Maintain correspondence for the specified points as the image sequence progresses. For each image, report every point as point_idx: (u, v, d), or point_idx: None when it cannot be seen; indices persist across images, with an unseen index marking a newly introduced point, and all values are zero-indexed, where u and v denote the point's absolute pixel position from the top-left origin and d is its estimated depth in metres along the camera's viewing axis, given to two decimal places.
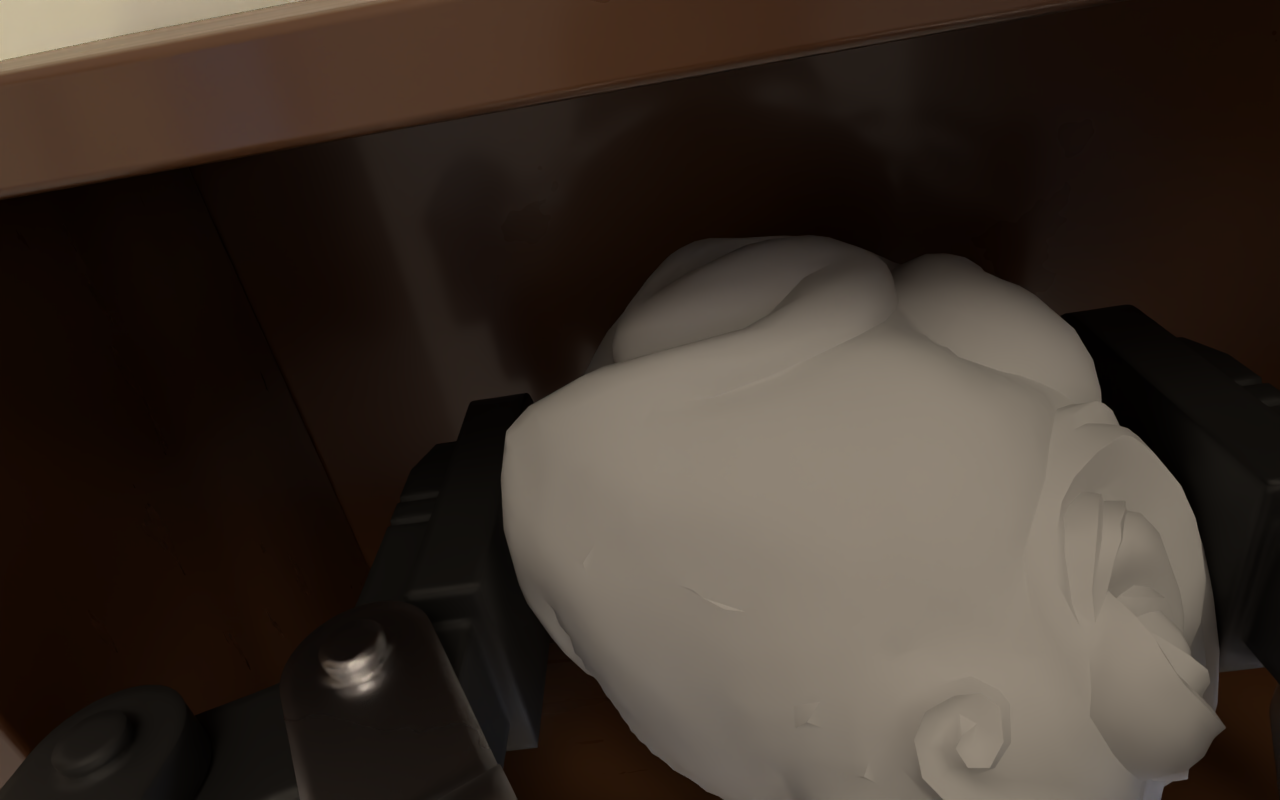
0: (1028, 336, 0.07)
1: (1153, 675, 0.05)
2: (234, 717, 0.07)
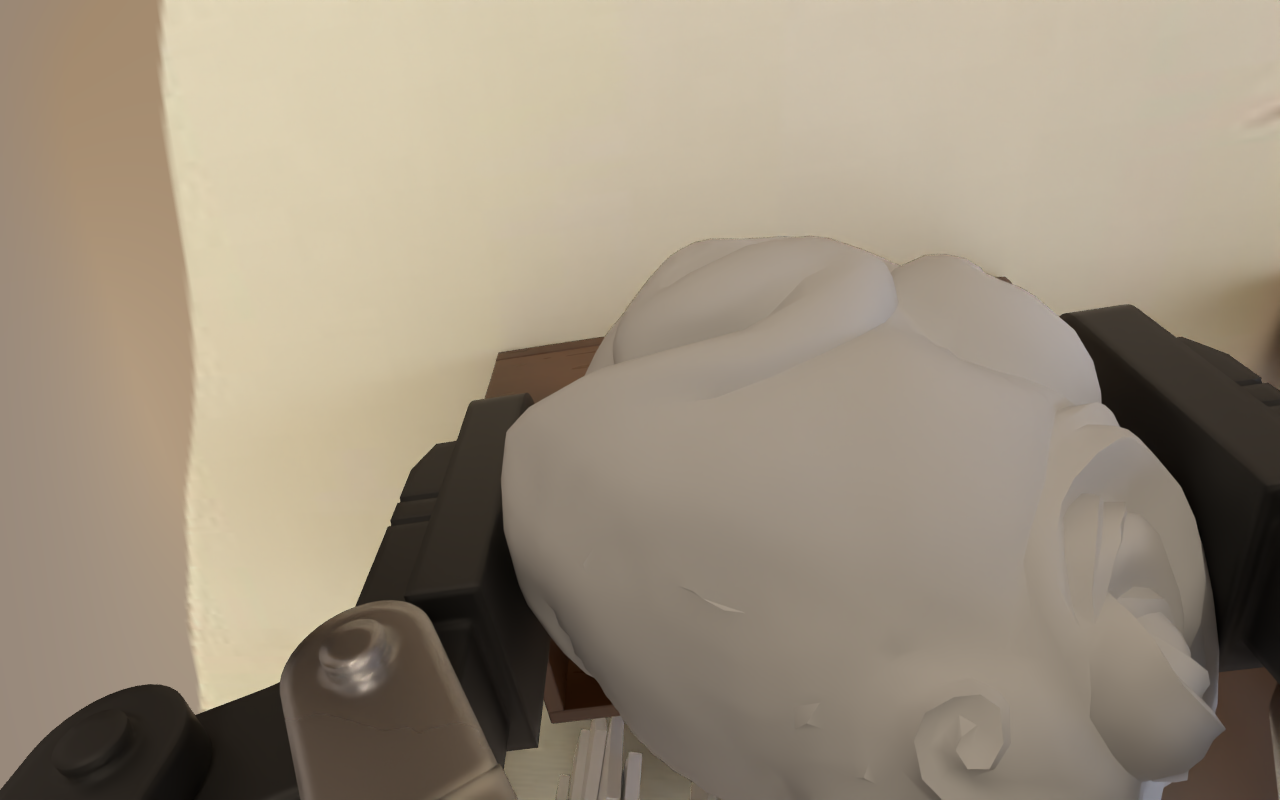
0: (1028, 337, 0.07)
1: (1152, 674, 0.05)
2: (235, 718, 0.07)
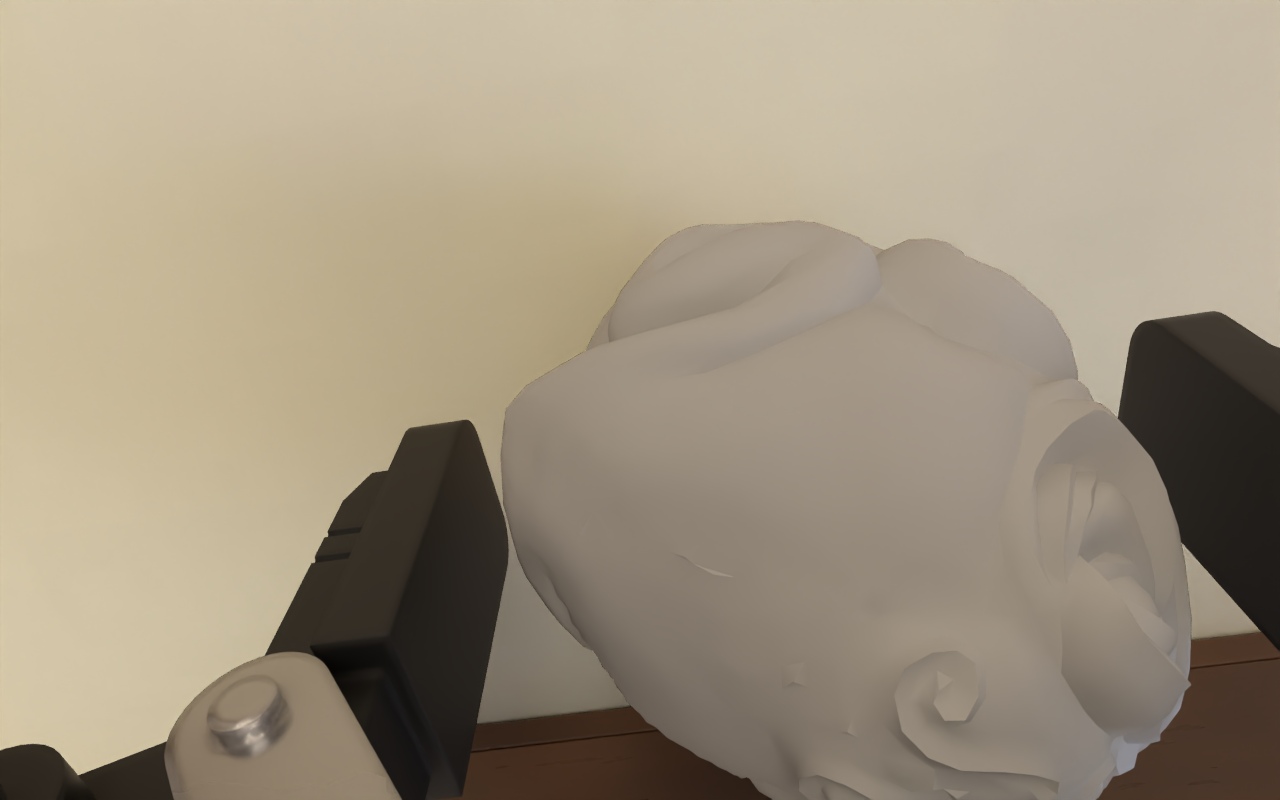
0: (1006, 316, 0.07)
1: (1120, 630, 0.06)
2: (127, 775, 0.06)
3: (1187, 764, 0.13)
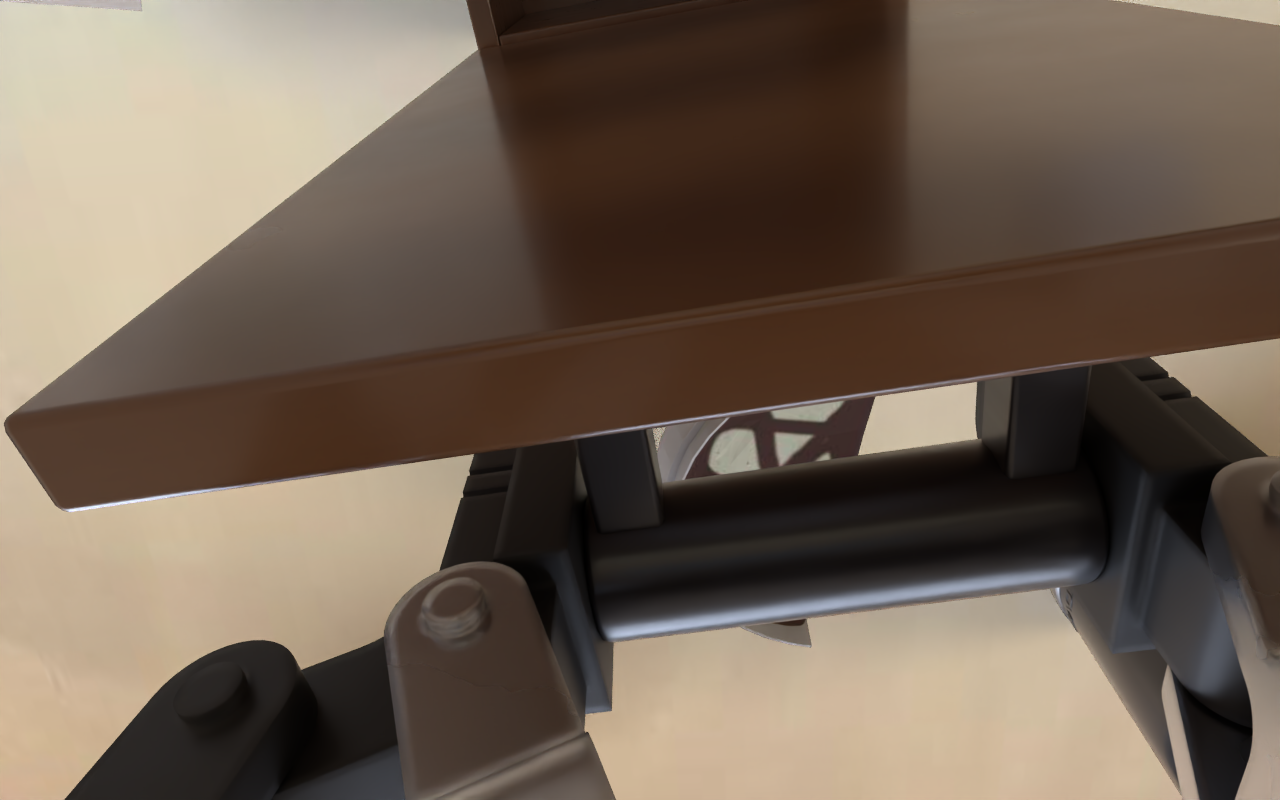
0: None
1: None
2: (334, 675, 0.07)
3: None
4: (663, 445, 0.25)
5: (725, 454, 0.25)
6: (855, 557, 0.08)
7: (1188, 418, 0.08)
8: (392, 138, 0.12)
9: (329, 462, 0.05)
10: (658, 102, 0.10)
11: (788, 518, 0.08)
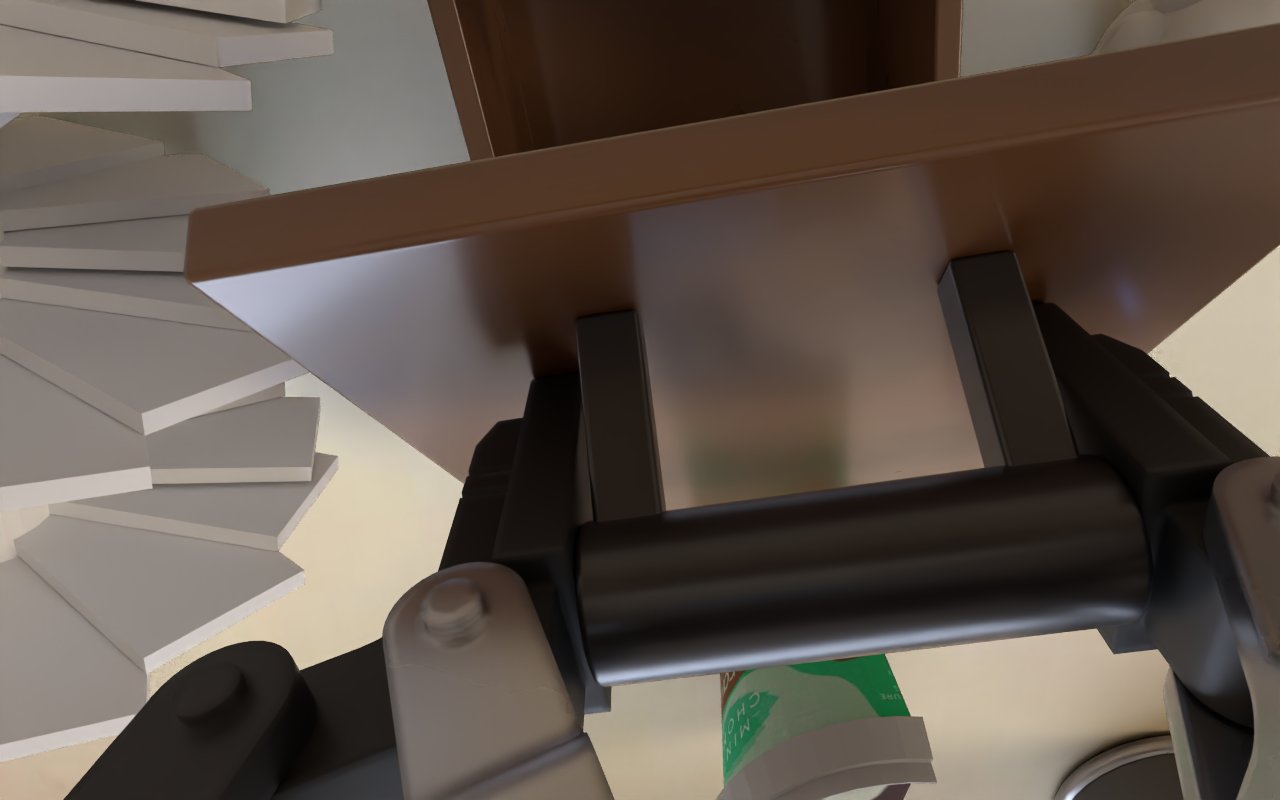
0: None
1: None
2: (333, 674, 0.07)
3: None
4: None
5: None
6: (859, 522, 0.07)
7: (1189, 418, 0.08)
8: None
9: (393, 231, 0.07)
10: None
11: (787, 500, 0.08)
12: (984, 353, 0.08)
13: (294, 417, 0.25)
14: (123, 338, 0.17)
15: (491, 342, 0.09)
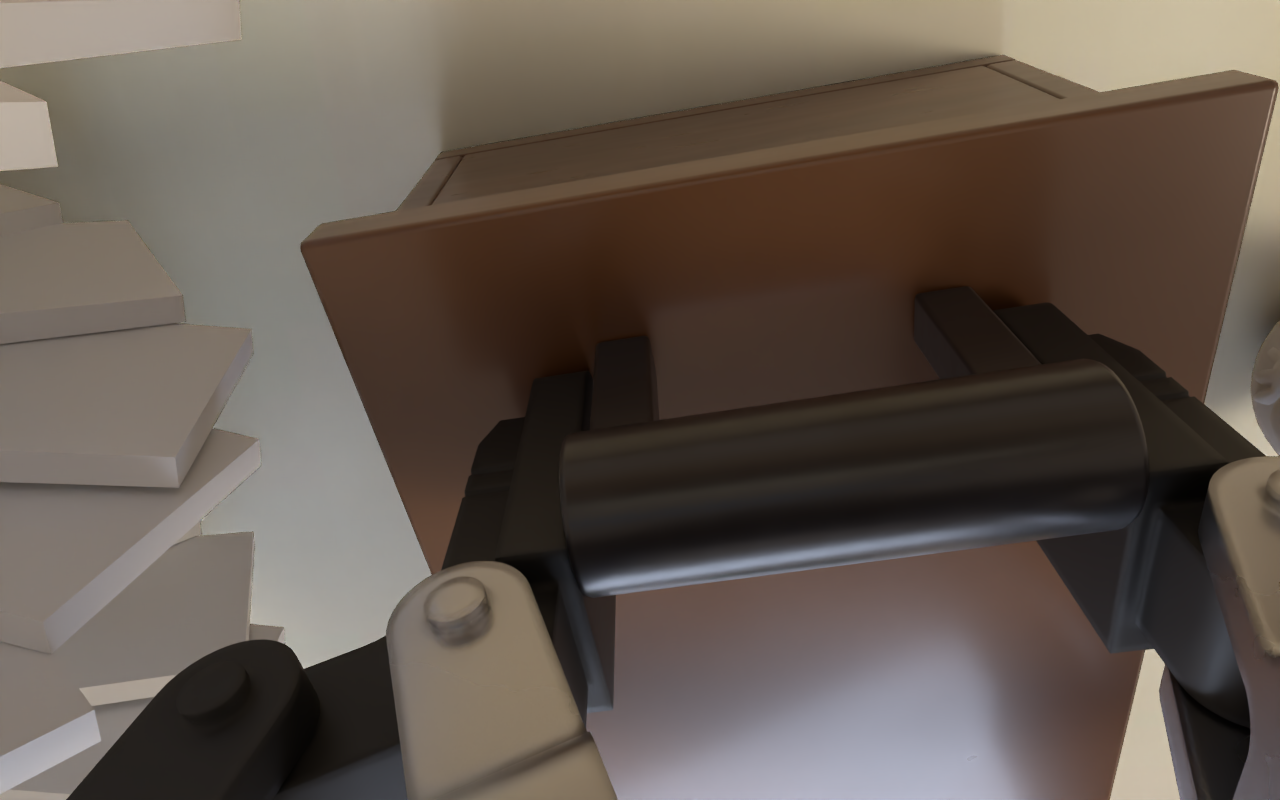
0: None
1: None
2: (336, 673, 0.07)
3: None
4: None
5: None
6: (836, 397, 0.08)
7: (1186, 418, 0.08)
8: None
9: (462, 212, 0.09)
10: None
11: None
12: (951, 331, 0.09)
13: None
14: None
15: (522, 377, 0.10)
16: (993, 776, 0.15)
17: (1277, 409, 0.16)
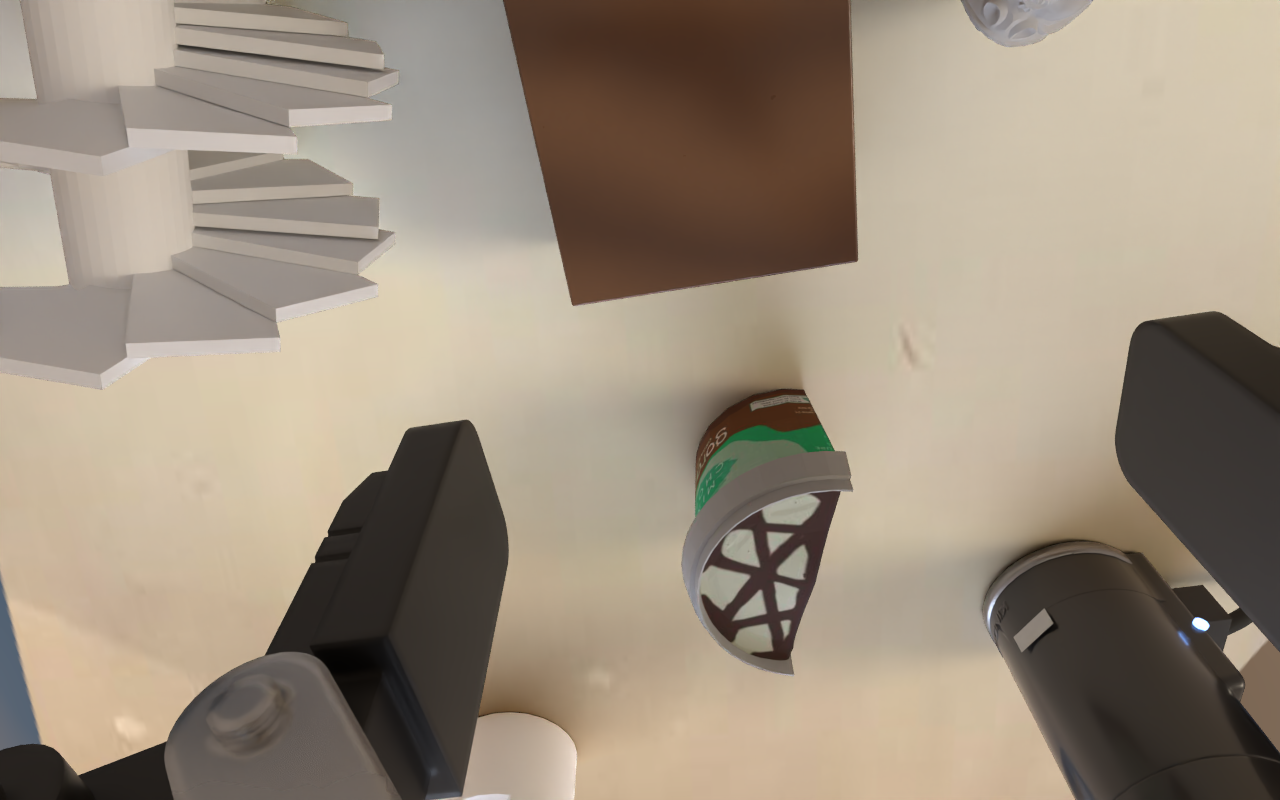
0: None
1: None
2: (127, 777, 0.06)
3: None
4: (689, 537, 0.36)
5: (733, 545, 0.36)
6: None
7: None
8: None
9: None
10: None
11: None
12: None
13: (362, 205, 0.32)
14: (263, 87, 0.25)
15: None
16: (787, 114, 0.28)
17: None
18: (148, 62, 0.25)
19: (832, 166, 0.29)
